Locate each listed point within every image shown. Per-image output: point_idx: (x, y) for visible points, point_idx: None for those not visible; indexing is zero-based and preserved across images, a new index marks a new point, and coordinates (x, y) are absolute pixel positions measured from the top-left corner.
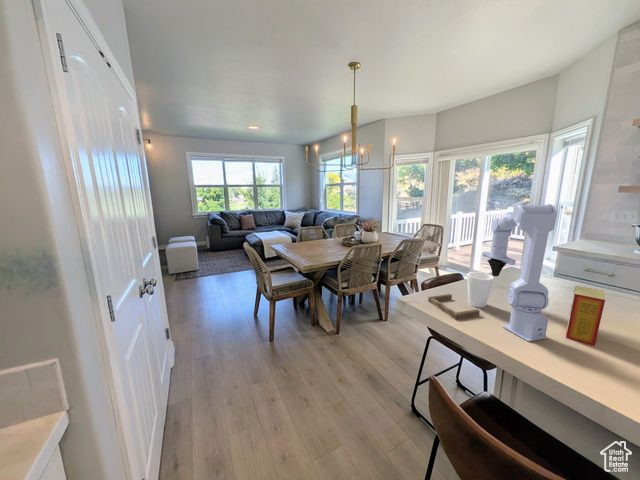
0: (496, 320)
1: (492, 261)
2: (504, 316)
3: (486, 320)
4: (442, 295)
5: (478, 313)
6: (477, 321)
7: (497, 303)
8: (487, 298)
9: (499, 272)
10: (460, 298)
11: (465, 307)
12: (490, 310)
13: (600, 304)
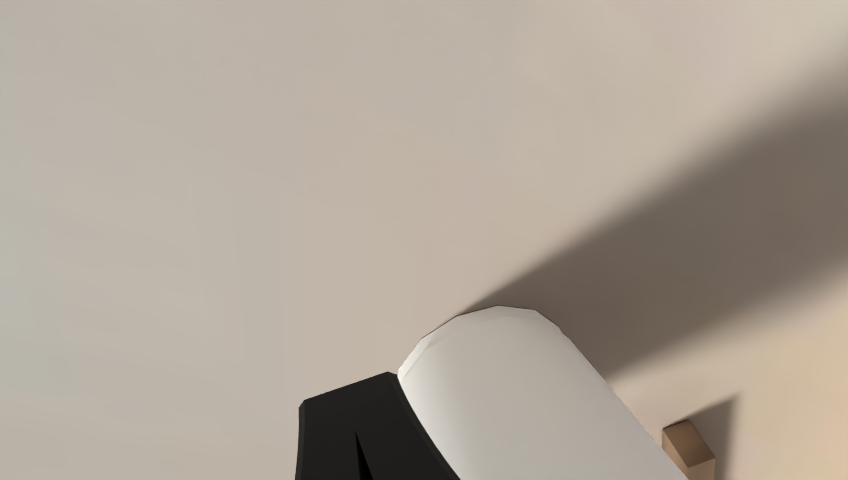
0: (801, 331)
1: None
2: (778, 237)
3: (770, 395)
4: None
5: (700, 442)
6: (757, 450)
7: (494, 148)
8: (618, 399)
9: (436, 465)
10: None
11: None
12: (639, 305)
13: None
